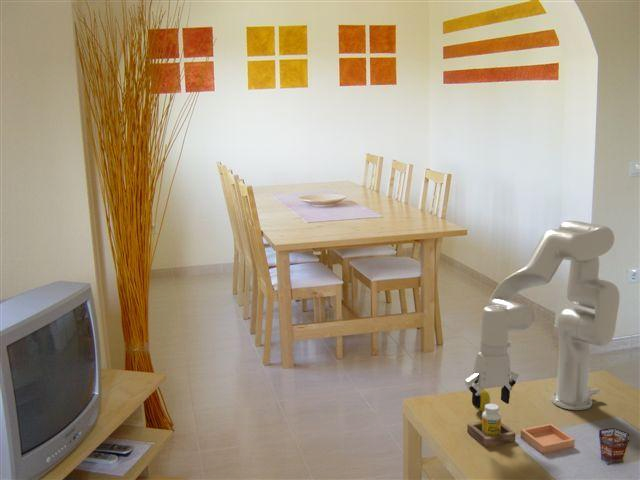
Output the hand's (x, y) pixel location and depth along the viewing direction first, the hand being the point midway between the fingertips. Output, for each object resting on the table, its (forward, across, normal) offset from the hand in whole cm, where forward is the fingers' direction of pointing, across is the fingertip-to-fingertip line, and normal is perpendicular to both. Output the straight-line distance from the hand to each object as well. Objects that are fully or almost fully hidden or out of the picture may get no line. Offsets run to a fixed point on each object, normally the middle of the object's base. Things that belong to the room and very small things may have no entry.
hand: (490, 404), depth 203 cm
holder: (+10, -1, 0) cm, 10 cm away
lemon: (+10, -7, -15) cm, 20 cm away
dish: (+10, -14, +9) cm, 19 cm away
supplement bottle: (+11, -1, 0) cm, 11 cm away
